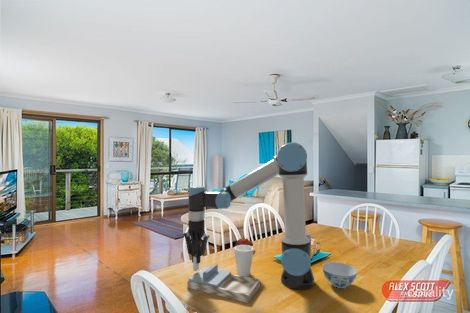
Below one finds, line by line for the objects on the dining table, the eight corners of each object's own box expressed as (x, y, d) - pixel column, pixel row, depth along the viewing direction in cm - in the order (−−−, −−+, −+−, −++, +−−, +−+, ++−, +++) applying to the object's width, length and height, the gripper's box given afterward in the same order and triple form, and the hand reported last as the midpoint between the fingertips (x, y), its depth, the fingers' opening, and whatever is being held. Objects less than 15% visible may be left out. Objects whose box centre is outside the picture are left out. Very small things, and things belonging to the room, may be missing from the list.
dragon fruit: (233, 253, 167) (251, 254, 171) (238, 249, 161) (257, 250, 165) (232, 240, 172) (249, 241, 176) (237, 235, 166) (255, 236, 170)
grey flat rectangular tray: (260, 286, 123) (260, 279, 123) (248, 302, 109) (248, 295, 109) (204, 274, 135) (204, 268, 135) (187, 287, 121) (187, 280, 121)
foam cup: (231, 271, 138) (231, 246, 138) (248, 268, 141) (248, 244, 141) (238, 279, 129) (238, 252, 129) (256, 276, 133) (256, 250, 132)
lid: (231, 273, 129) (231, 265, 129) (216, 286, 115) (216, 278, 115) (205, 267, 134) (205, 260, 134) (188, 280, 121) (188, 271, 121)
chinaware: (328, 275, 136) (329, 259, 135) (361, 284, 126) (361, 267, 126) (316, 286, 124) (317, 269, 124) (351, 297, 114) (351, 279, 114)
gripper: (212, 219, 128) (212, 269, 128) (189, 216, 133) (188, 264, 133) (204, 222, 121) (204, 275, 121) (180, 219, 126) (179, 270, 126)
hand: (196, 269), depth 127 cm, fingers closed
